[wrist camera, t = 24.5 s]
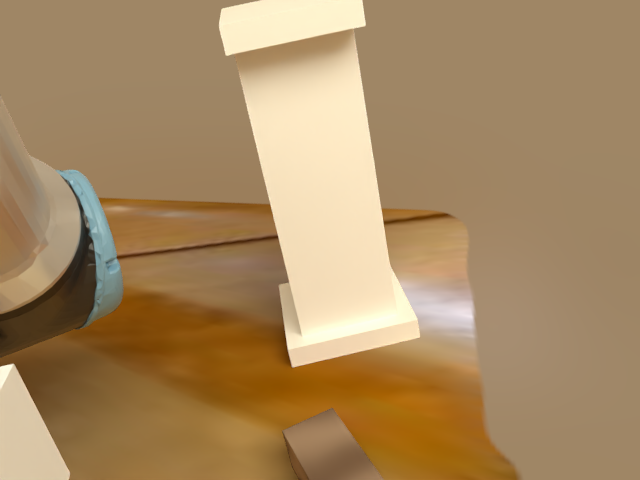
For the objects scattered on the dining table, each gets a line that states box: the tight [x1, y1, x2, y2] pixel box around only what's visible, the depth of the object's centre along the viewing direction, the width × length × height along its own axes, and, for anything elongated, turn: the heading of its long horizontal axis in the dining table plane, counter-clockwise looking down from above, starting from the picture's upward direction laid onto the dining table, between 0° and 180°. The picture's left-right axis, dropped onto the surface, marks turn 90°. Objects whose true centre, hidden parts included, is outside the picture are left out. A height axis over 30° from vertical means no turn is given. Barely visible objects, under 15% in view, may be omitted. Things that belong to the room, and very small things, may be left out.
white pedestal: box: [219, 0, 420, 367], centre depth 55 cm, size 14×12×30 cm
